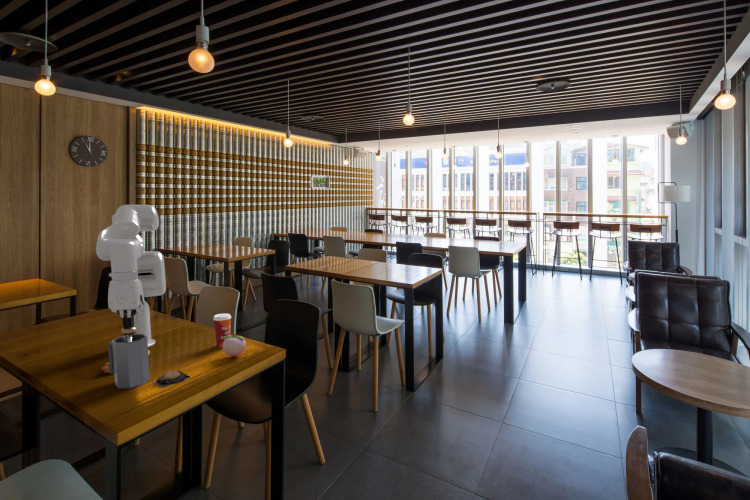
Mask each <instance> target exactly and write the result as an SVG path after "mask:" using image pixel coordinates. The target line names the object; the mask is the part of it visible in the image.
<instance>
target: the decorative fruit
mask: <svg viewBox="0 0 750 500" xmlns="http://www.w3.org/2000/svg"><path fill="white" fill-rule="evenodd" d="M226 337H227V338H226ZM224 338H226V339H225V340H224V342H223V348H222V350H223V351H224V353H225V354H226V355H227V356H229V357H234V358H235V357H238V356H239V355H241V354H242V353H243V352H244V351H245V350H246V348H247V341H246V338H245V337H243V336H242V335H235V333H233V334H232V335H231V334H230V335H229V336H225V337H224ZM224 338H223V339H224Z"/></svg>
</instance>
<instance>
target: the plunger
mask: <svg viewBox="0 0 750 500" xmlns="http://www.w3.org/2000/svg"><path fill="white" fill-rule="evenodd" d="M135 333H137V330H136V326H134V327H132V328H130V329H124V327H122V328H121V336H125V335H127V336H128V342H132V334H135Z"/></svg>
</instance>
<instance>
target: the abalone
mask: <svg viewBox="0 0 750 500" xmlns="http://www.w3.org/2000/svg"><path fill="white" fill-rule="evenodd" d="M189 378H191V375H188V374H187V373H184V372H182V371H181V370H169V371H167V372H165V373H163V374H162V375H161V376H159V377H158V378H156V381H153V383H152V384H153V385H156V386H158V387H160V388H162V389H164V388H168V387H172V386H174V385H176V384H179V383H181V382H185V381H186V380H189Z"/></svg>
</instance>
